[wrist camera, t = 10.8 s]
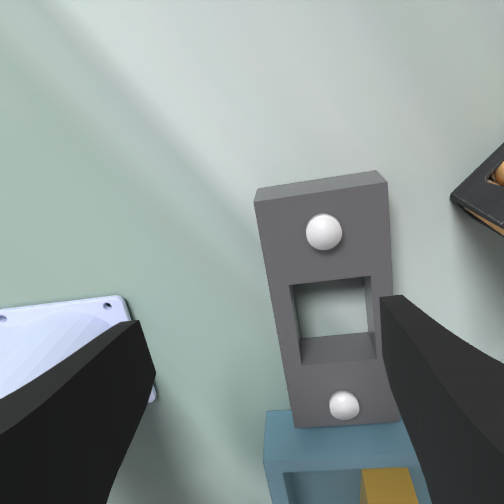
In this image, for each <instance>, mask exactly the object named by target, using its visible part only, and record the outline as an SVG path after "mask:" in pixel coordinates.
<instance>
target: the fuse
mask: <svg viewBox="0 0 504 504" xmlns="http://www.w3.org/2000/svg"><path fill="white" fill-rule="evenodd" d="M360 504H419V503H418V499H417V496H416V493H415V490H414V486H413V483H412V480H411V476H410V473H409V470H408V468H405V467H392V468H371V469H361V487H360Z"/></svg>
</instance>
